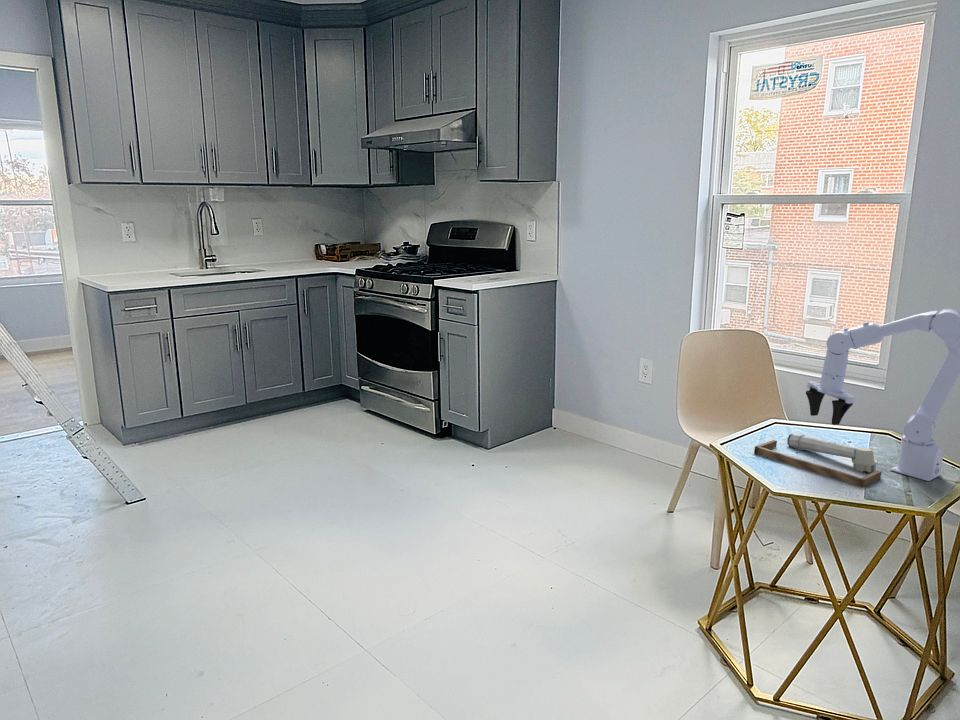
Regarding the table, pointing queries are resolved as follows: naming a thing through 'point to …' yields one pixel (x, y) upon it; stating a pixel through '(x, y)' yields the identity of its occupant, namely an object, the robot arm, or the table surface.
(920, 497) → the table surface
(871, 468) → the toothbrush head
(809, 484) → the table surface
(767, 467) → the table surface
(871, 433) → the table surface
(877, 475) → the walnut bay
